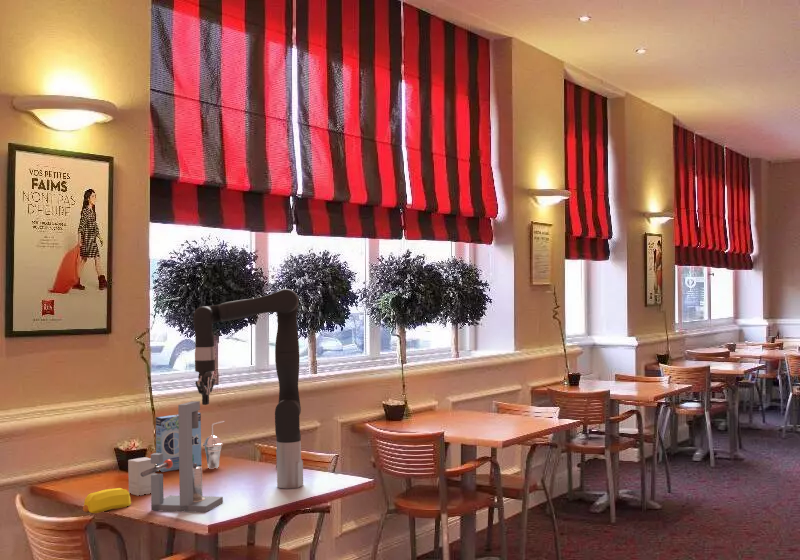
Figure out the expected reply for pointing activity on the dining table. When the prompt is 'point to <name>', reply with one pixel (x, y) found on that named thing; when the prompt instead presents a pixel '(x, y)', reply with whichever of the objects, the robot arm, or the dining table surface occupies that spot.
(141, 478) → the supplement box
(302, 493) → the dining table surface
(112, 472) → the dining table surface
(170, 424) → the blue cereal box
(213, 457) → the cup with straw
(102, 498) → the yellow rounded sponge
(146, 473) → the lever
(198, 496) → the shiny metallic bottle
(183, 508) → the press
